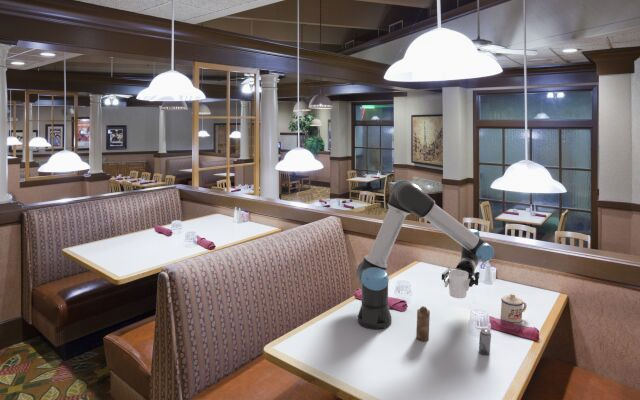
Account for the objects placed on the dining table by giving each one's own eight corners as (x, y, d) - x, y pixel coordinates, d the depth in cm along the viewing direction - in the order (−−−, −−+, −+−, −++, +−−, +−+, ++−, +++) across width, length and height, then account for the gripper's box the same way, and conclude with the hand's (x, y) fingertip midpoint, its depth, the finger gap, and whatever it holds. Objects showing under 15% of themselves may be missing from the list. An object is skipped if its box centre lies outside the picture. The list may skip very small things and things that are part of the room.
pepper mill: (414, 339, 171) (415, 307, 169) (418, 334, 176) (419, 303, 173) (426, 342, 169) (428, 310, 166) (430, 336, 173) (431, 305, 171)
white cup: (468, 299, 171) (470, 276, 169) (448, 298, 173) (449, 275, 171) (466, 292, 179) (467, 269, 177) (447, 291, 180) (447, 269, 178)
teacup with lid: (508, 324, 183) (510, 299, 181) (495, 315, 192) (497, 291, 189) (532, 321, 186) (534, 296, 183) (518, 312, 194) (520, 288, 192)
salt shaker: (477, 353, 160) (479, 331, 159) (479, 348, 164) (480, 327, 162) (489, 356, 159) (490, 334, 157) (490, 351, 162) (491, 329, 160)
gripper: (489, 279, 186) (482, 299, 166) (442, 272, 195) (430, 290, 176) (490, 263, 184) (483, 281, 165) (443, 257, 194) (431, 273, 174)
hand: (456, 285), depth 170 cm, fingers closed on white cup, 8 cm apart
